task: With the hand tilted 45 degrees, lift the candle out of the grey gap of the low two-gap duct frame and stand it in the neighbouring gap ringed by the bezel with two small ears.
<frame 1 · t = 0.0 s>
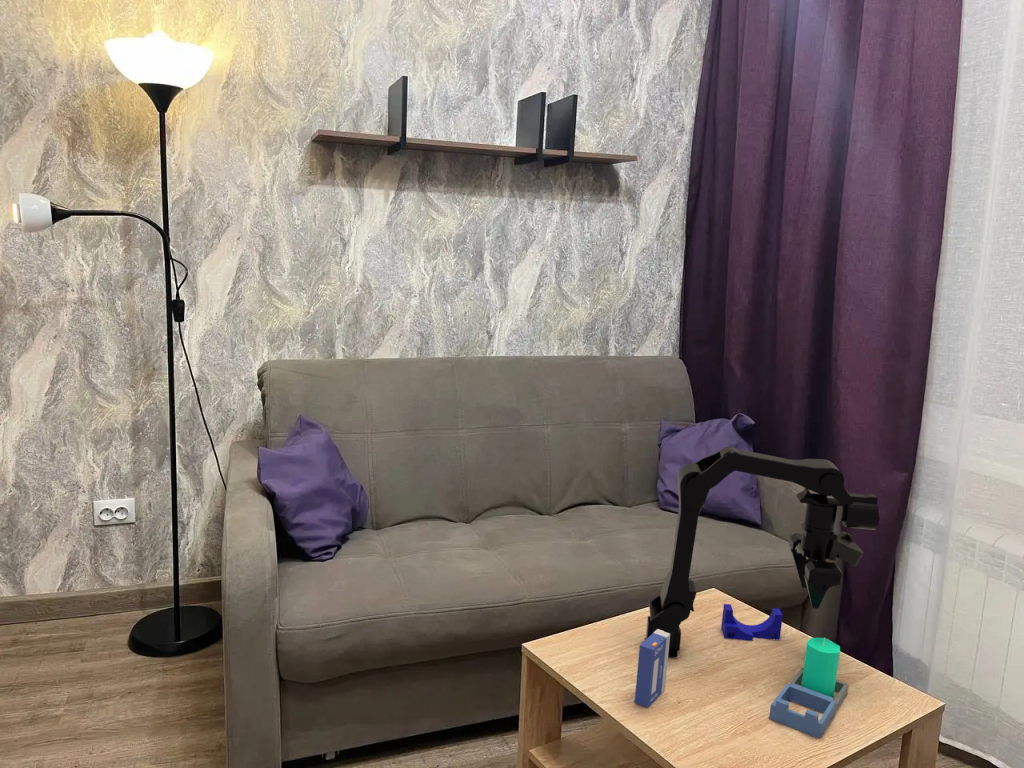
hand: (809, 597, 164), 15 cm above the table, tool pointing down, fingers open, 9 cm apart
cable clip: (750, 637, 177), on the table
duct frame: (809, 705, 152), on the table
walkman: (649, 697, 153), on the table
candle: (816, 696, 156), resting in duct frame
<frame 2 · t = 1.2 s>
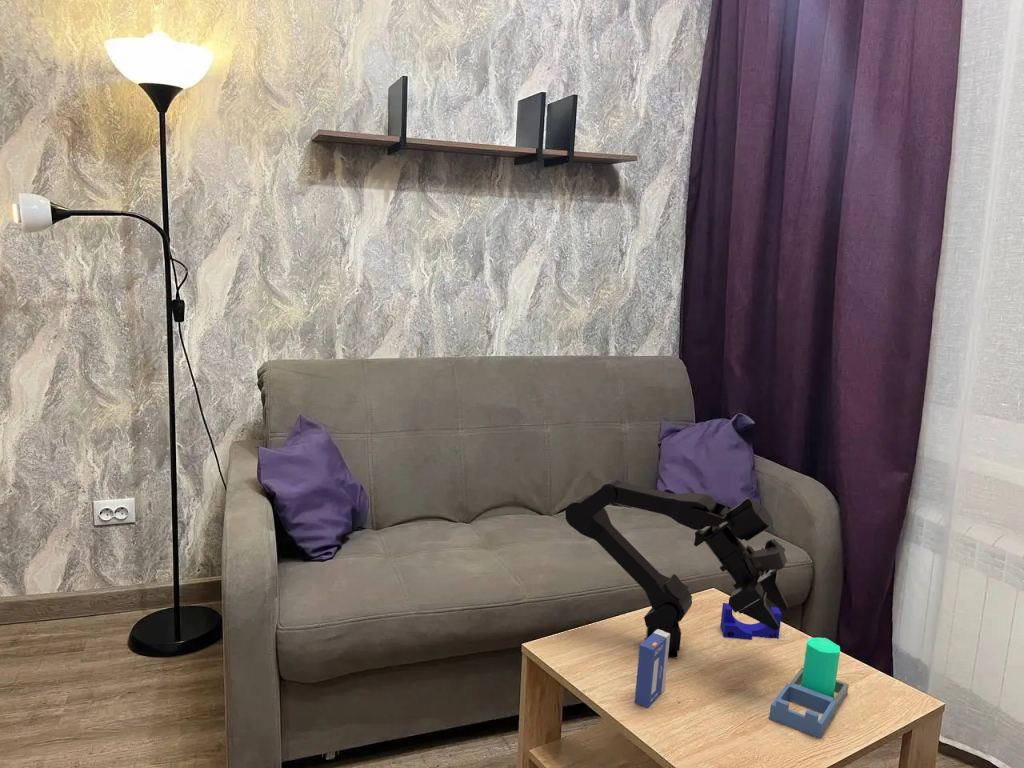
hand: (781, 619, 157), 13 cm above the table, tool tilted 45°, fingers open, 9 cm apart
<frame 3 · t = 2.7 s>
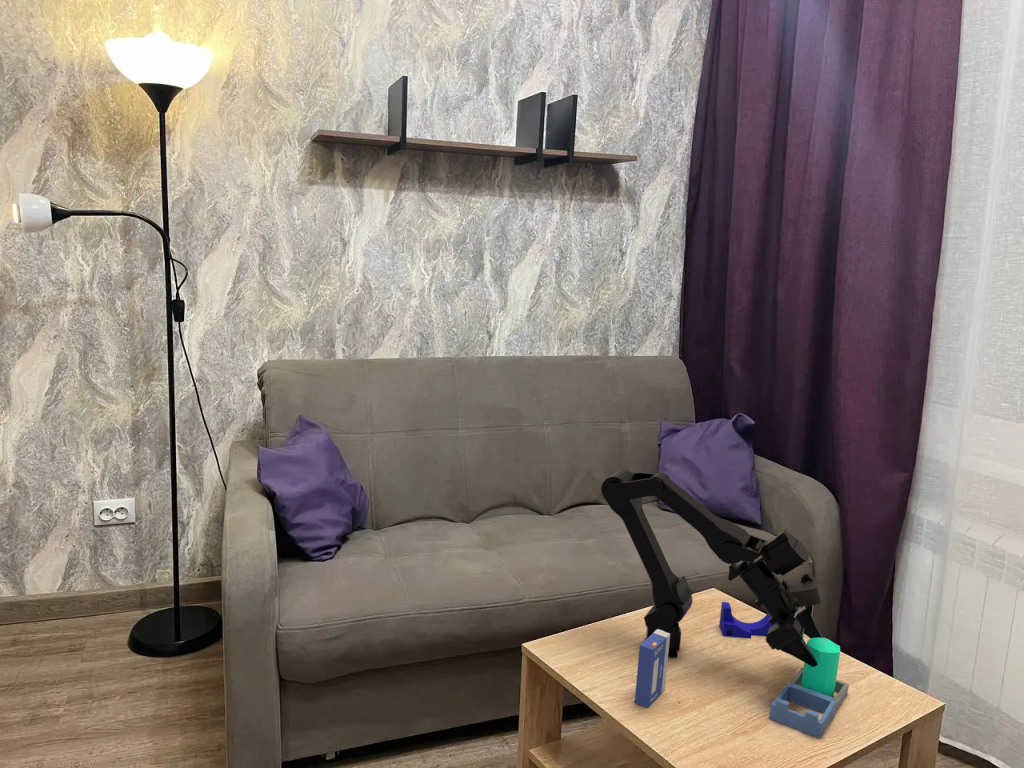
hand: (819, 654, 154), 8 cm above the table, tool tilted 45°, fingers open, 9 cm apart
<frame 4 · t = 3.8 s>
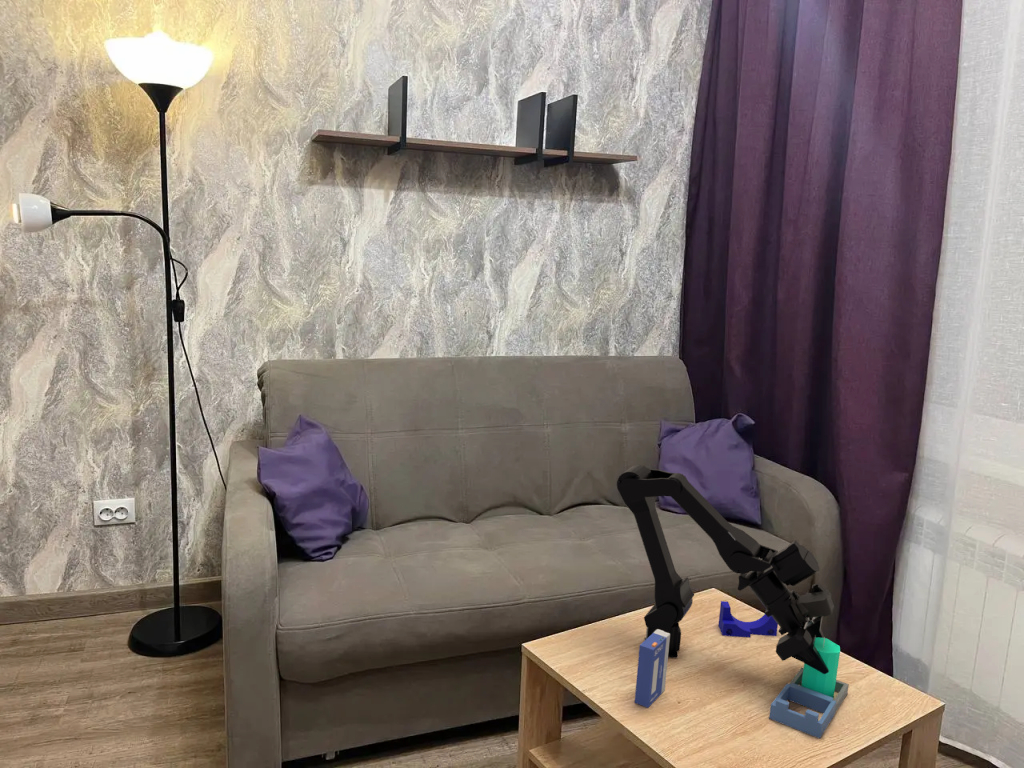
hand: (828, 665, 154), 7 cm above the table, tool tilted 45°, fingers closed on candle, 5 cm apart
candle: (816, 695, 156), resting in duct frame, touching gripper
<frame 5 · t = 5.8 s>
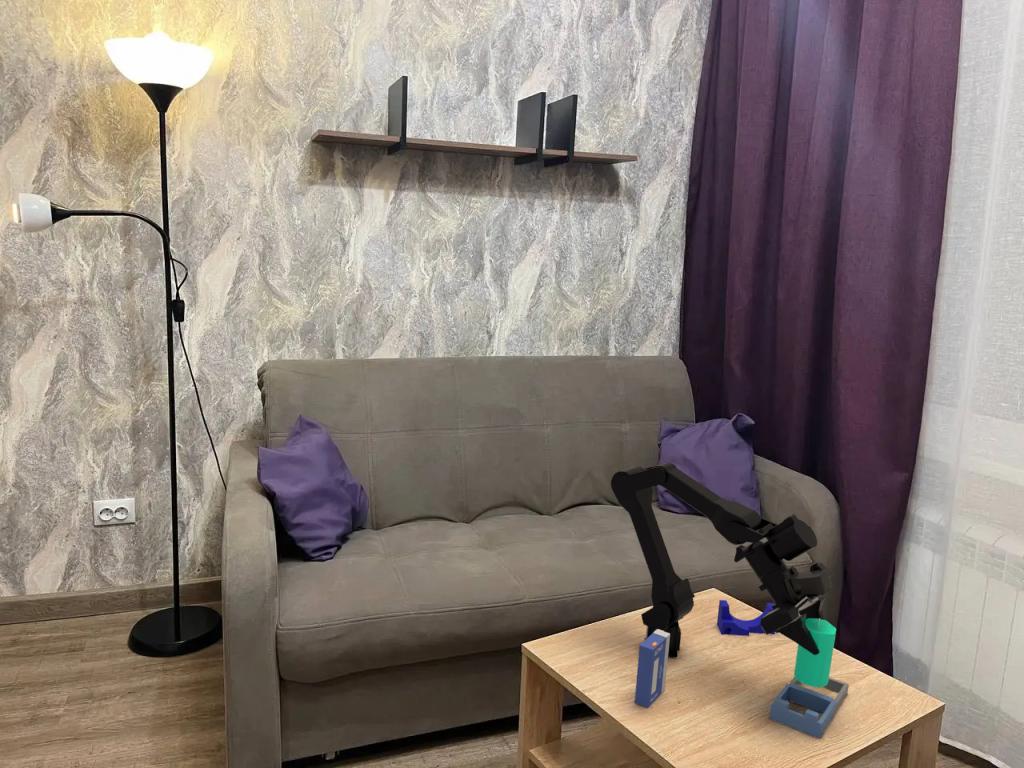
hand: (823, 648, 147), 13 cm above the table, tool tilted 45°, fingers closed on candle, 5 cm apart
candle: (810, 679, 149), point 6 cm above the table, touching gripper
when the fingers open (8 cm above the table, at t = 7.7 s): candle drops 1 cm, resting in duct frame.
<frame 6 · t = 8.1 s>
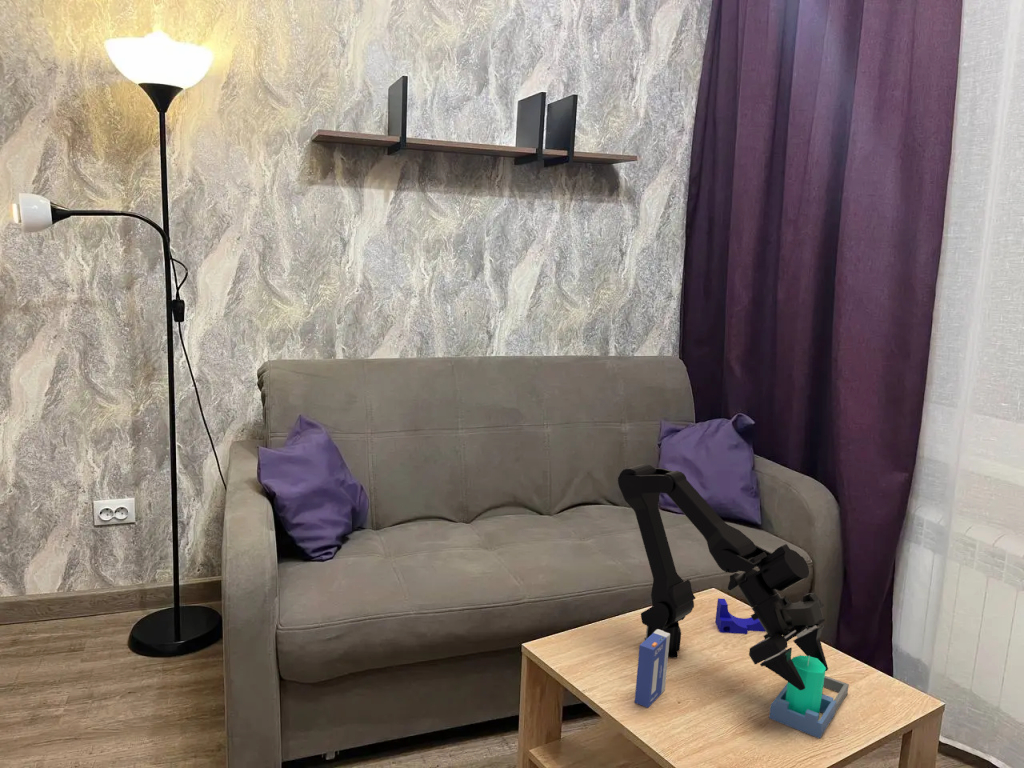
hand: (814, 679, 146), 8 cm above the table, tool tilted 45°, fingers open, 9 cm apart
candle: (800, 716, 149), resting in duct frame
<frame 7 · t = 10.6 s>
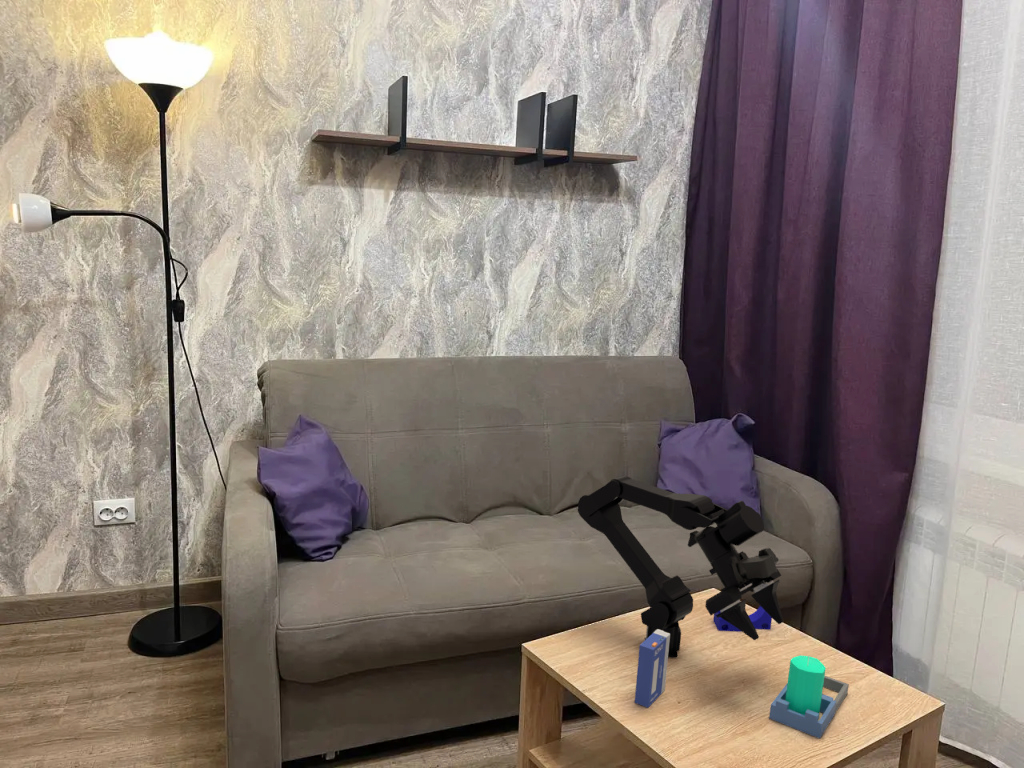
hand: (769, 630, 151), 14 cm above the table, tool tilted 45°, fingers open, 9 cm apart
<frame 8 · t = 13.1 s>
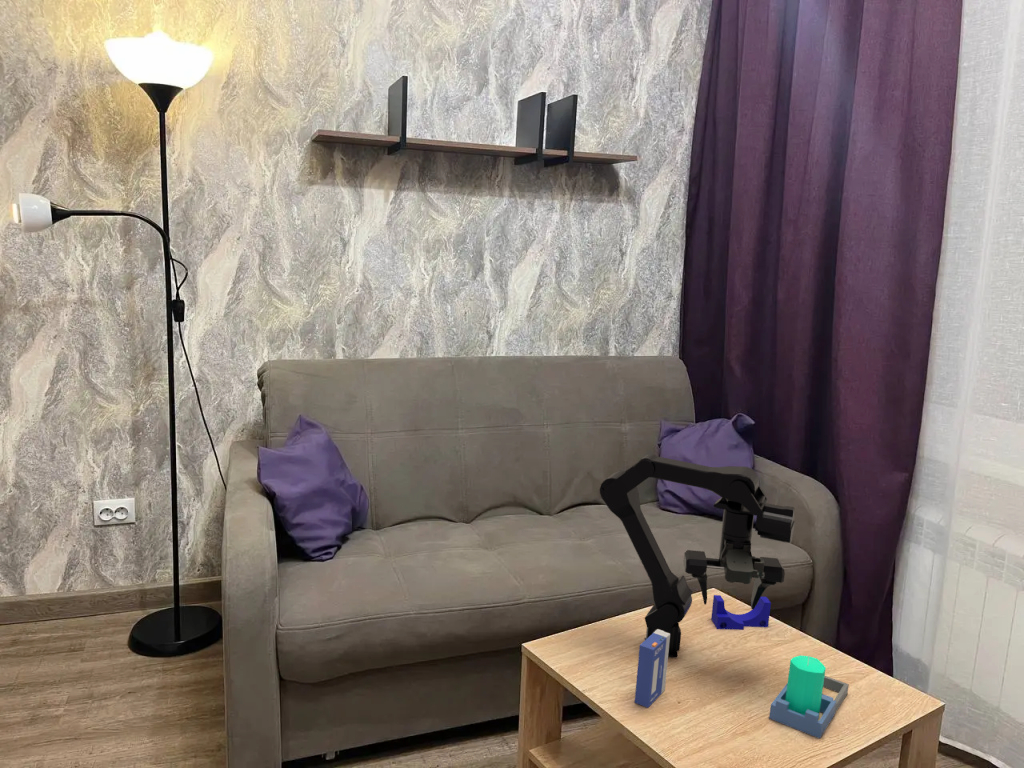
hand: (728, 606, 162), 13 cm above the table, tool pointing down, fingers open, 9 cm apart
at the end: candle 0.3 cm from the target spot, resting in duct frame; candle tilted 0°; the gripper is holding nothing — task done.
